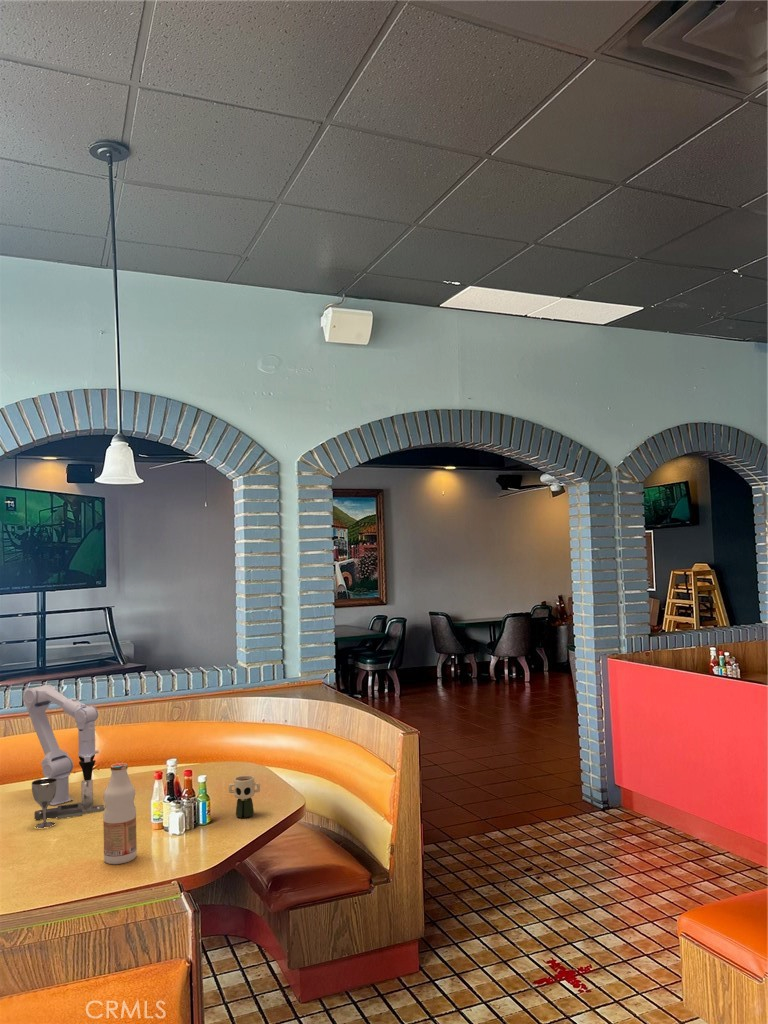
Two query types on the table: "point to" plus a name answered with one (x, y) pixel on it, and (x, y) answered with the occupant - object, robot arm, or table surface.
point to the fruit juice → (119, 817)
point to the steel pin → (87, 793)
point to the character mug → (244, 794)
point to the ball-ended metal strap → (67, 811)
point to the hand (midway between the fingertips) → (87, 777)
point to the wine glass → (44, 796)
